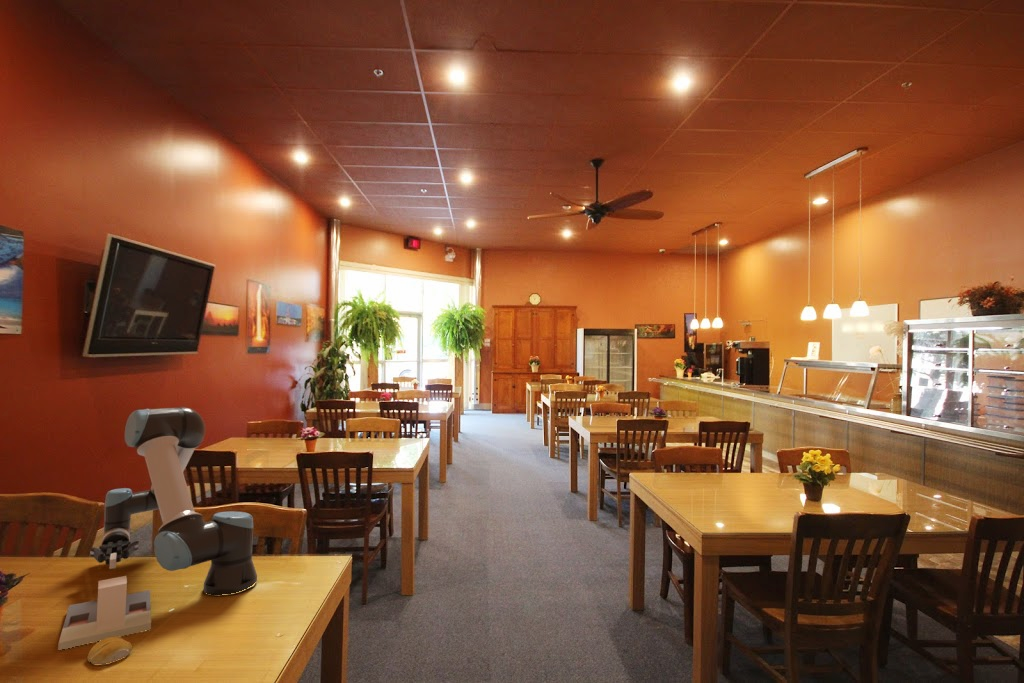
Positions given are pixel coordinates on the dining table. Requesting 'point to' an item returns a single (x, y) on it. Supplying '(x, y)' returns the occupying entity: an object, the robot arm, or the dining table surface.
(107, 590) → the cream block
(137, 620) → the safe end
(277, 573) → the dining table surface
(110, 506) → the robot arm
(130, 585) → the dining table surface
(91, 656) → the bread roll
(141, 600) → the board
